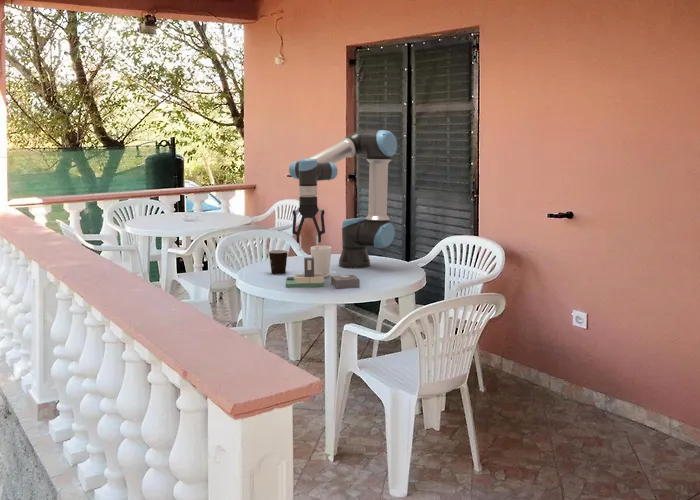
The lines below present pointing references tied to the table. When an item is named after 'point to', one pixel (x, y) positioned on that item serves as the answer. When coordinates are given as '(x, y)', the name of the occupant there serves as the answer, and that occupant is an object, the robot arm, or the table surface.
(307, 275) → the plug
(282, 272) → the coffee mug
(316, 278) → the socket
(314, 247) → the foam cup
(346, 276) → the dark grey box
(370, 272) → the table surface
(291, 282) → the board
